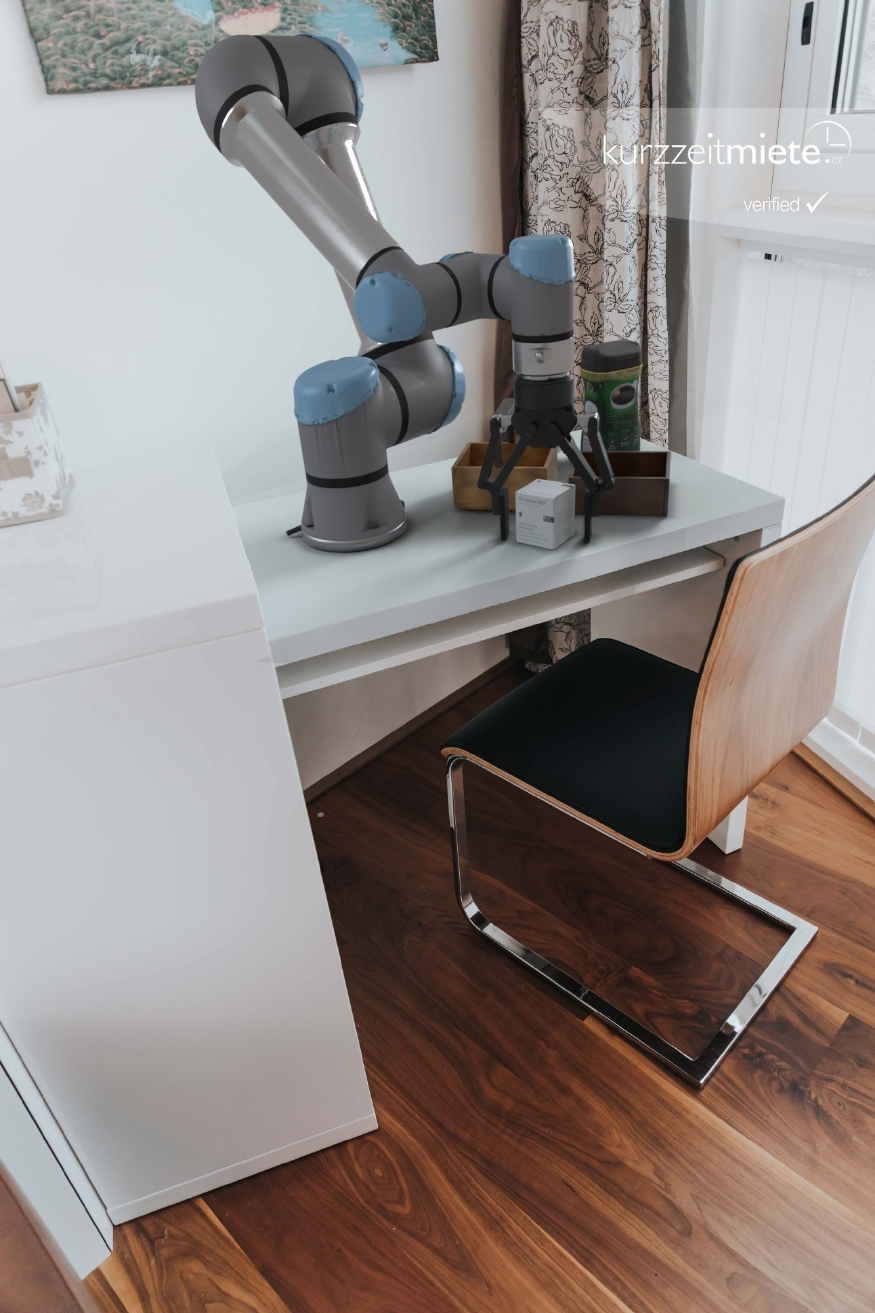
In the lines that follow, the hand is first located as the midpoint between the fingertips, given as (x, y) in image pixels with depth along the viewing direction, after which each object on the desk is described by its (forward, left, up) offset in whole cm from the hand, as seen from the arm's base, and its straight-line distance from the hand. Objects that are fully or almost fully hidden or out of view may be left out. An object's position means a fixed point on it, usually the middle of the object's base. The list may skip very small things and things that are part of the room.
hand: (546, 537), depth 121 cm
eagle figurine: (-6, +30, 0) cm, 31 cm away
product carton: (0, 0, 0) cm, 0 cm away
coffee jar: (+6, +35, 0) cm, 36 cm away
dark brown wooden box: (+9, +15, 0) cm, 17 cm away
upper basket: (-8, +15, 0) cm, 17 cm away
